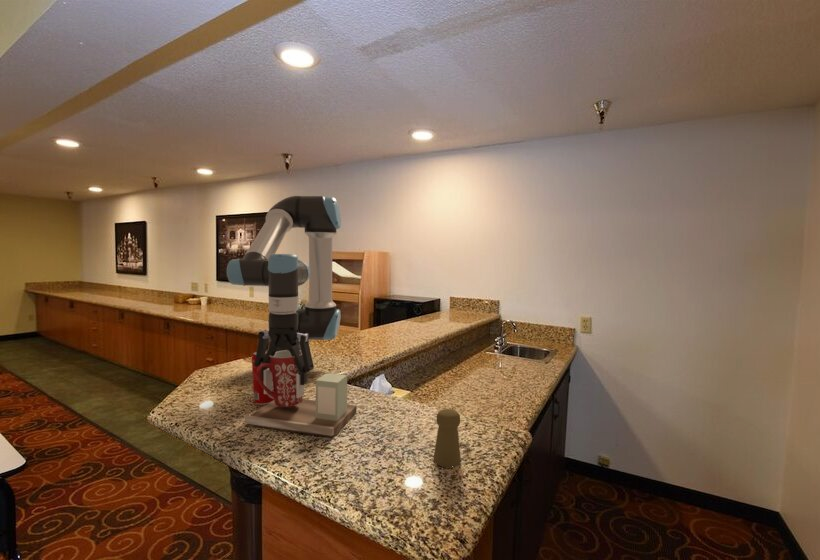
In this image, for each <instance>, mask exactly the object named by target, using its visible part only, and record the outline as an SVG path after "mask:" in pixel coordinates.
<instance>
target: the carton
mask: <svg viewBox="0 0 820 560" xmlns="http://www.w3.org/2000/svg"><path fill="white" fill-rule="evenodd" d="M315 401H316V418H318V419H325V420H333V421H338V420H339V419H340V418H341V417H342V416H343V415H344V414H345V413H346V412H347V405H348V375H347V374H338V373H330V372H329V373H328V372H326V373H324V374H323V375H322V376H320V377H319V378H317V379H316V380H315Z"/></svg>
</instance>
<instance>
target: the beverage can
mask: <svg viewBox="0 0 820 560" xmlns="http://www.w3.org/2000/svg"><path fill="white" fill-rule="evenodd" d="M267 351H268V349H266V353H267ZM256 353H257V351H254V352H253V353H252V356H251V369H252V372H251V373H252V386H253V402H254V404H255V405H264V406H265V405H267V404H269V403H270V402H272V401H273V400H274V398H273V397H272V396H271V395H269V394H268V393H267V394H264V389H263V388H262V386H261V385H260V384H259V382H258V380H257V376H256V370H257V368H258V367H255V366H254V363H255V358H256ZM266 353H265V356H266ZM260 377H261V372H260ZM261 380H262V379H261ZM262 382H263V384H264V381H262ZM273 391H274V389H273V379H272V391H271V392H273Z"/></svg>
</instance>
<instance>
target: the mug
mask: <svg viewBox="0 0 820 560" xmlns="http://www.w3.org/2000/svg"><path fill="white" fill-rule="evenodd" d="M300 353H301V355H299V356H302V352H301V350H300ZM294 358H295V357H294V356H293V357H292V355H291V353H290V351H288V350H283V351H278V352H276V353H275V355H274V356H271V355H270V359H271V363H262V364H260V365H259V366H258V368H257V370H256V376H257V380H258V382H259V384H260V385H261V386H262V388H263V389H264V390H265V391H266V392H267V393H268V394H269V395H271V396H272V397H273V398H274V401H275V405H277V406H281V407H288V406H294V405H297V404H299V403H301V402H302V399H304V397H303V396H304V395H303V396H301V397H300V398H296V374H297V373H299V371H298V368H297V366H296V364H295V362H294ZM265 366H267V367H268V368H269V369H270V371H271V373H272V379H273V389H274V391H273V392H271V391H270V390H269V389H268V388H267V387H266V386H265V385H264V384H263V382H262V380H261V377H260V372H261V369H262V368H263V367H265Z"/></svg>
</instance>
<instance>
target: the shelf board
mask: <svg viewBox="0 0 820 560" xmlns="http://www.w3.org/2000/svg"><path fill="white" fill-rule="evenodd" d="M355 414H357V405H355V404H347V412H346V413H345V414H344V415H343V416H342V417H341V418H340V419H339V420H338V421H333V420H325V419H318V418H316V400H314V399H312V400H311V399H306V398H303V399H302V402H301V403H299V404H297V405H294V406H288V407H281V406H277V405H275V401H274V400H273V401H272V402H270V403H269V404H264V406H263V407H261V408H259V409H258V410H256V411H255V412H253V413H252V414H249V415H248V414H246V415H245V416H244V424H246V426H251V427H256V428H257V427H258V428H264V429H271V430H272V429H273V430H279V431H280V430H281V431H286V432H293V433H299V434H300V433H301V434H307V435H313V436H321V437H328V438H335V436H336V435H338V433H339V432H340V431H341V430H342V429H343V428H344V427H345V426H346V425H347V423H348V422H349V421H351V419H352V418H353V417H354V416H355Z"/></svg>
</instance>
